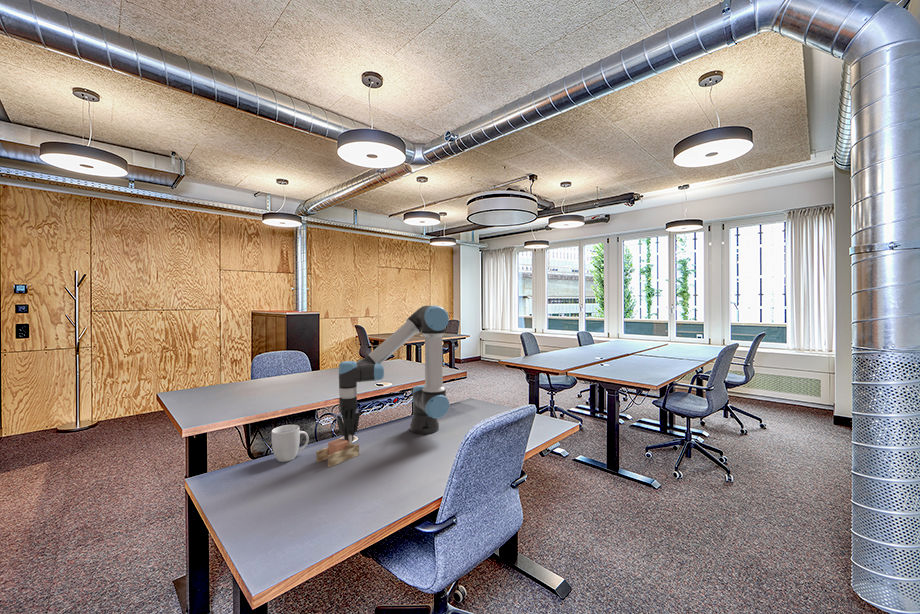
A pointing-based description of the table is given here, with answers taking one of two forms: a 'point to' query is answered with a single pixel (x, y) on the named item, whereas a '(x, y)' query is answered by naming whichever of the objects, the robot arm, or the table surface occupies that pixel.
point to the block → (337, 445)
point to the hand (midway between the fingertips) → (349, 449)
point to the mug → (287, 442)
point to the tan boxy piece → (337, 454)
